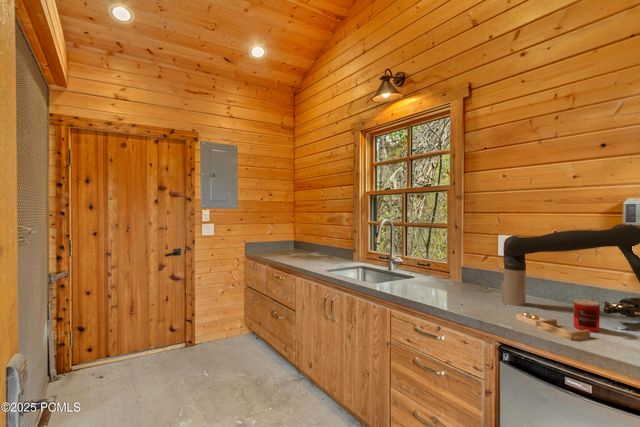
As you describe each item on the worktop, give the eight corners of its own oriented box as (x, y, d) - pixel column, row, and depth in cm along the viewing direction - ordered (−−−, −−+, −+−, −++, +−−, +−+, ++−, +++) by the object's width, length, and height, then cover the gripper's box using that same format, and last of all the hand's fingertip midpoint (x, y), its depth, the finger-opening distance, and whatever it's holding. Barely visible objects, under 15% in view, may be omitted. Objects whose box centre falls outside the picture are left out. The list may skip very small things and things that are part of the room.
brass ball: (528, 322, 135) (529, 314, 135) (534, 321, 136) (534, 313, 136) (535, 324, 132) (535, 316, 132) (541, 323, 133) (541, 316, 133)
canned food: (587, 326, 132) (587, 298, 132) (605, 334, 124) (605, 304, 124) (568, 326, 131) (568, 298, 131) (585, 334, 124) (585, 304, 123)
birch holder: (536, 328, 129) (536, 321, 129) (553, 326, 132) (553, 318, 132) (571, 342, 116) (571, 333, 116) (589, 339, 119) (590, 330, 119)
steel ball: (520, 319, 139) (520, 311, 138) (526, 318, 139) (526, 311, 139) (527, 321, 136) (527, 314, 136) (532, 320, 137) (532, 313, 137)
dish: (516, 319, 139) (516, 314, 139) (526, 318, 141) (526, 313, 141) (535, 327, 131) (535, 321, 131) (546, 325, 132) (546, 319, 132)
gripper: (617, 293, 142) (588, 296, 137) (656, 302, 129) (625, 305, 124) (617, 311, 142) (588, 315, 137) (656, 321, 130) (625, 325, 124)
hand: (606, 310), depth 131 cm, fingers closed
